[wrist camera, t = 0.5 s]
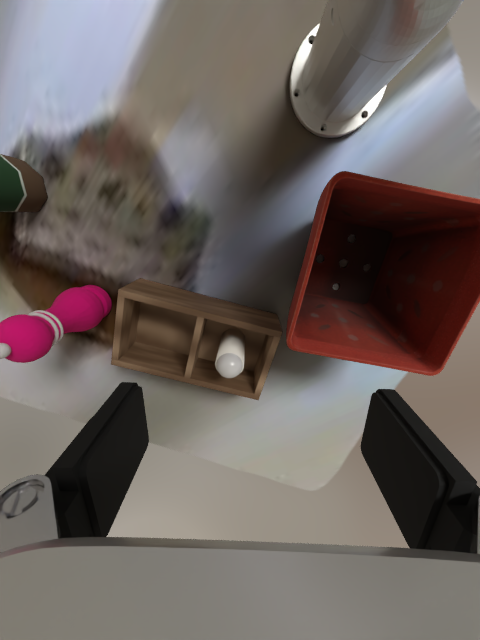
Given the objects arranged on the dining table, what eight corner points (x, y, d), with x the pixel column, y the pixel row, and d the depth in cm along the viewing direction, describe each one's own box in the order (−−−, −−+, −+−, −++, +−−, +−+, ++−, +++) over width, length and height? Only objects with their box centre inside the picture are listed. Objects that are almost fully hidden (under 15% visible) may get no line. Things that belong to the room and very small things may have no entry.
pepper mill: (68, 304, 48) (-49, 358, 29) (86, 273, 45) (-28, 310, 27) (103, 327, 49) (12, 393, 30) (122, 298, 47) (37, 350, 28)
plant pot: (272, 306, 46) (284, 350, 31) (300, 188, 40) (334, 168, 24) (376, 325, 47) (439, 378, 31) (421, 213, 40) (531, 208, 24)
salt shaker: (224, 325, 47) (217, 355, 37) (247, 331, 47) (247, 362, 37) (218, 346, 48) (210, 380, 38) (241, 352, 49) (239, 387, 39)
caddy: (140, 278, 45) (118, 289, 38) (277, 314, 47) (282, 332, 39) (131, 342, 50) (111, 364, 43) (257, 374, 51) (258, 400, 44)
